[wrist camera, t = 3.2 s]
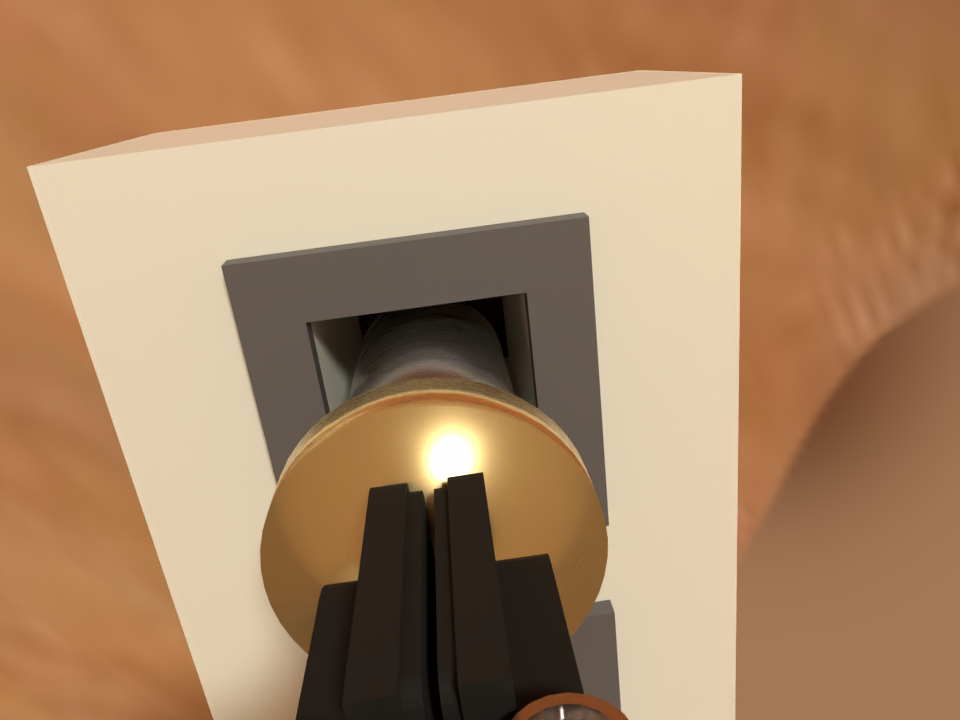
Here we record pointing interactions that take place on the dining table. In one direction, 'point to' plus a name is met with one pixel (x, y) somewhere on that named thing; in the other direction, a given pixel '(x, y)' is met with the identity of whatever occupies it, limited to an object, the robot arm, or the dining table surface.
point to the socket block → (417, 283)
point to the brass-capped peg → (430, 465)
